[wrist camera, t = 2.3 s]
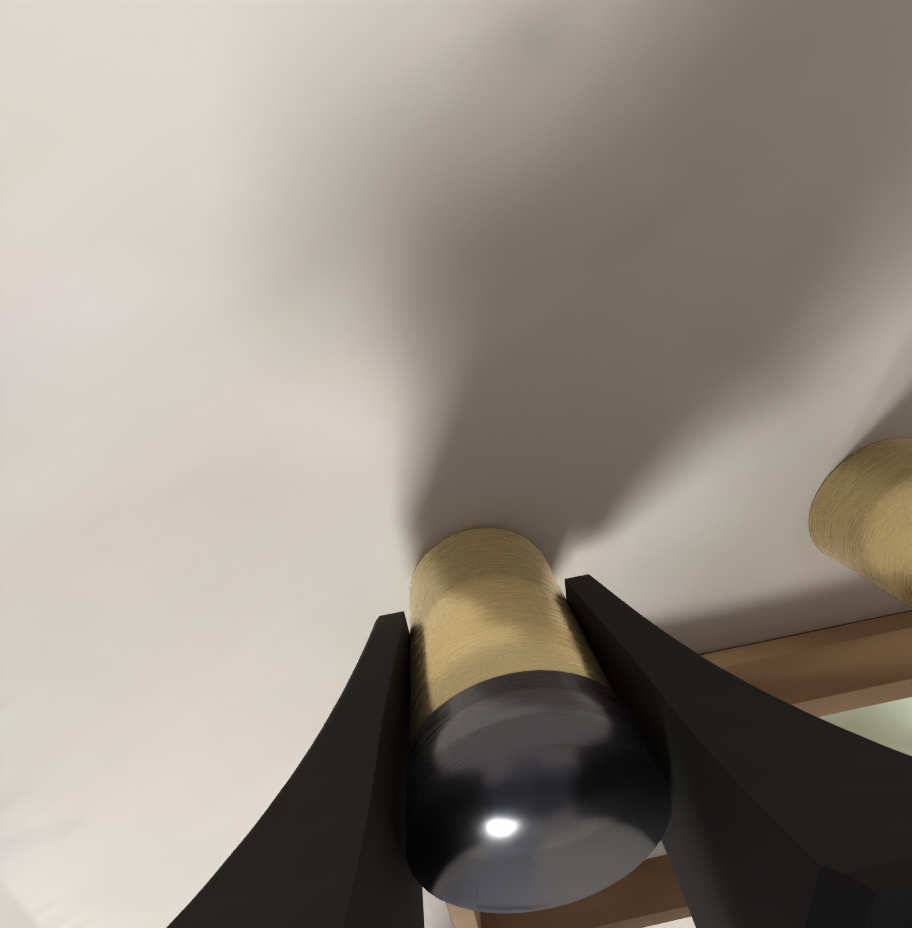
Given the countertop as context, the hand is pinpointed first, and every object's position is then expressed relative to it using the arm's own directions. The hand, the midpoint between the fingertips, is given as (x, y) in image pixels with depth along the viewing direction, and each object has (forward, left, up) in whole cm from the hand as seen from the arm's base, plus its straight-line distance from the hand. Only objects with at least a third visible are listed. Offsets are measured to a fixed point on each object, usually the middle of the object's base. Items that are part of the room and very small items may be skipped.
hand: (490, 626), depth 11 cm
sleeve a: (0, 0, -1) cm, 1 cm away
